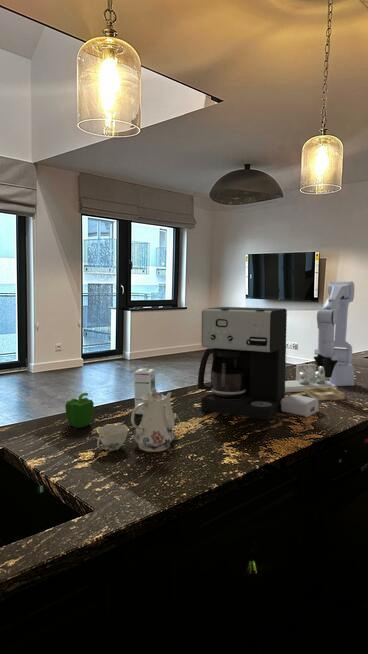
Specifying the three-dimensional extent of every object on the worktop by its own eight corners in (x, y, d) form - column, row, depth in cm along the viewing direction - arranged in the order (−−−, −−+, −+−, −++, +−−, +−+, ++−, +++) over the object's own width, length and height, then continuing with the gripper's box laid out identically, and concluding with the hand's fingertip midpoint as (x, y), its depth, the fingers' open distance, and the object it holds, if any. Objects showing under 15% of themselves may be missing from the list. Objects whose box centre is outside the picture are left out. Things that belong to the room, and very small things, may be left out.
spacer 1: (306, 382, 189) (306, 371, 189) (311, 384, 185) (311, 373, 184) (296, 382, 188) (296, 371, 188) (301, 384, 184) (301, 374, 184)
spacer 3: (327, 377, 175) (327, 365, 175) (331, 379, 171) (332, 367, 171) (316, 377, 175) (316, 365, 175) (320, 379, 171) (321, 367, 170)
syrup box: (151, 415, 149) (151, 371, 148) (134, 414, 150) (133, 371, 149) (155, 410, 155) (155, 368, 153) (139, 409, 156) (139, 367, 154)
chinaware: (160, 430, 139) (155, 376, 138) (203, 436, 128) (198, 378, 128) (88, 457, 117) (82, 394, 117) (132, 467, 107) (127, 397, 106)
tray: (330, 392, 180) (330, 387, 180) (345, 399, 169) (345, 393, 169) (304, 393, 178) (304, 388, 178) (317, 400, 167) (317, 395, 167)
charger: (278, 403, 163) (318, 411, 153) (265, 409, 156) (305, 417, 146) (279, 391, 162) (318, 398, 153) (265, 395, 155) (306, 403, 146)
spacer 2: (322, 381, 190) (322, 371, 190) (327, 383, 186) (327, 373, 186) (312, 381, 190) (312, 371, 189) (317, 384, 185) (317, 373, 185)
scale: (319, 383, 196) (320, 363, 196) (334, 390, 184) (335, 369, 183) (271, 385, 192) (272, 365, 192) (283, 392, 180) (284, 371, 179)
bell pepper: (66, 431, 133) (65, 398, 132) (65, 422, 141) (64, 391, 140) (95, 428, 135) (94, 396, 134) (93, 420, 143) (92, 389, 142)
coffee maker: (189, 409, 156) (189, 308, 153) (212, 396, 173) (213, 305, 170) (268, 420, 143) (270, 310, 140) (284, 405, 160) (287, 307, 157)
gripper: (307, 338, 178) (306, 372, 179) (325, 343, 164) (324, 380, 165) (324, 338, 179) (323, 372, 181) (343, 343, 165) (342, 379, 166)
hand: (324, 375), depth 173 cm, fingers closed on spacer 3, 4 cm apart
